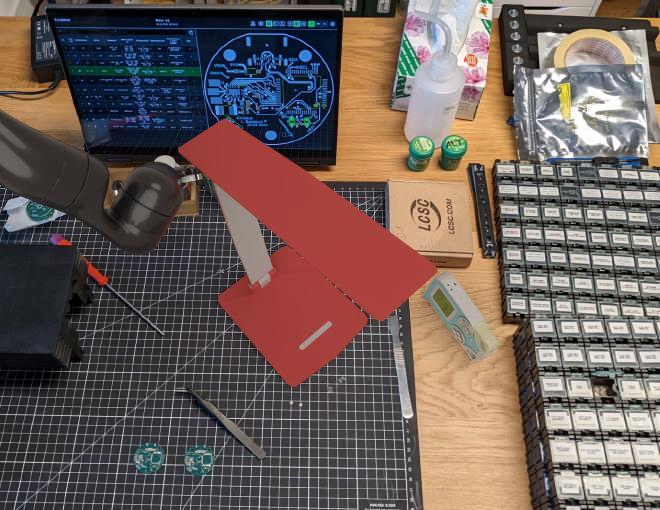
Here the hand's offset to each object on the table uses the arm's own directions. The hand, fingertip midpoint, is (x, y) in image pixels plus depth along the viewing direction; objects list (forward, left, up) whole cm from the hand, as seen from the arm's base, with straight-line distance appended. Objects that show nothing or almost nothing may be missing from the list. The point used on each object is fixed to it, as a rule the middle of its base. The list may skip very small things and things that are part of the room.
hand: (162, 176), depth 105 cm
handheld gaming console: (+48, -26, -14) cm, 56 cm away
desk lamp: (+22, -23, -14) cm, 34 cm away
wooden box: (-5, +5, -14) cm, 16 cm away
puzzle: (+9, +6, -14) cm, 18 cm away
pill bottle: (-1, +5, -13) cm, 14 cm away
